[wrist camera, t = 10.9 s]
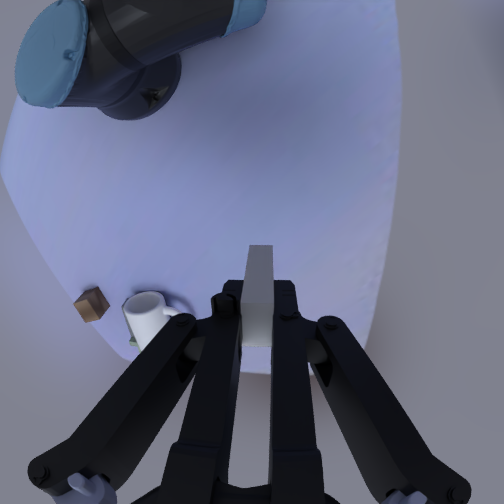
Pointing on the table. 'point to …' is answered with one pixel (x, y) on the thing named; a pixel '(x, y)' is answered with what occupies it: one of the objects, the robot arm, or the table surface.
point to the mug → (147, 315)
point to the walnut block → (91, 305)
